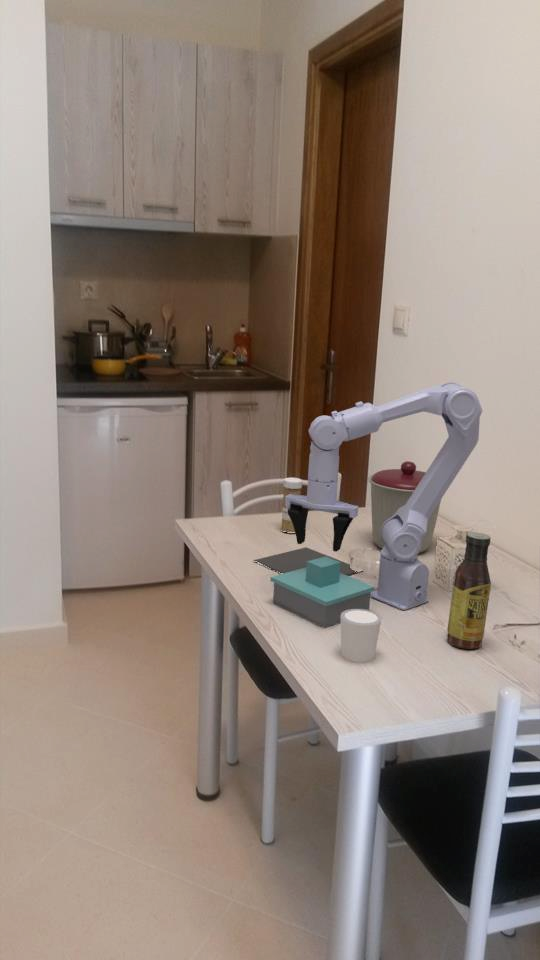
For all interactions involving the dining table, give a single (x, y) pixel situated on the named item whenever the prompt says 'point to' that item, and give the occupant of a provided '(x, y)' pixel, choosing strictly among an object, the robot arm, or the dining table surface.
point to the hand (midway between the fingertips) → (318, 546)
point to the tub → (317, 606)
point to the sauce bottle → (470, 594)
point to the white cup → (359, 634)
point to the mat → (298, 561)
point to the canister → (396, 499)
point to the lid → (322, 582)
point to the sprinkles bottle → (290, 487)
